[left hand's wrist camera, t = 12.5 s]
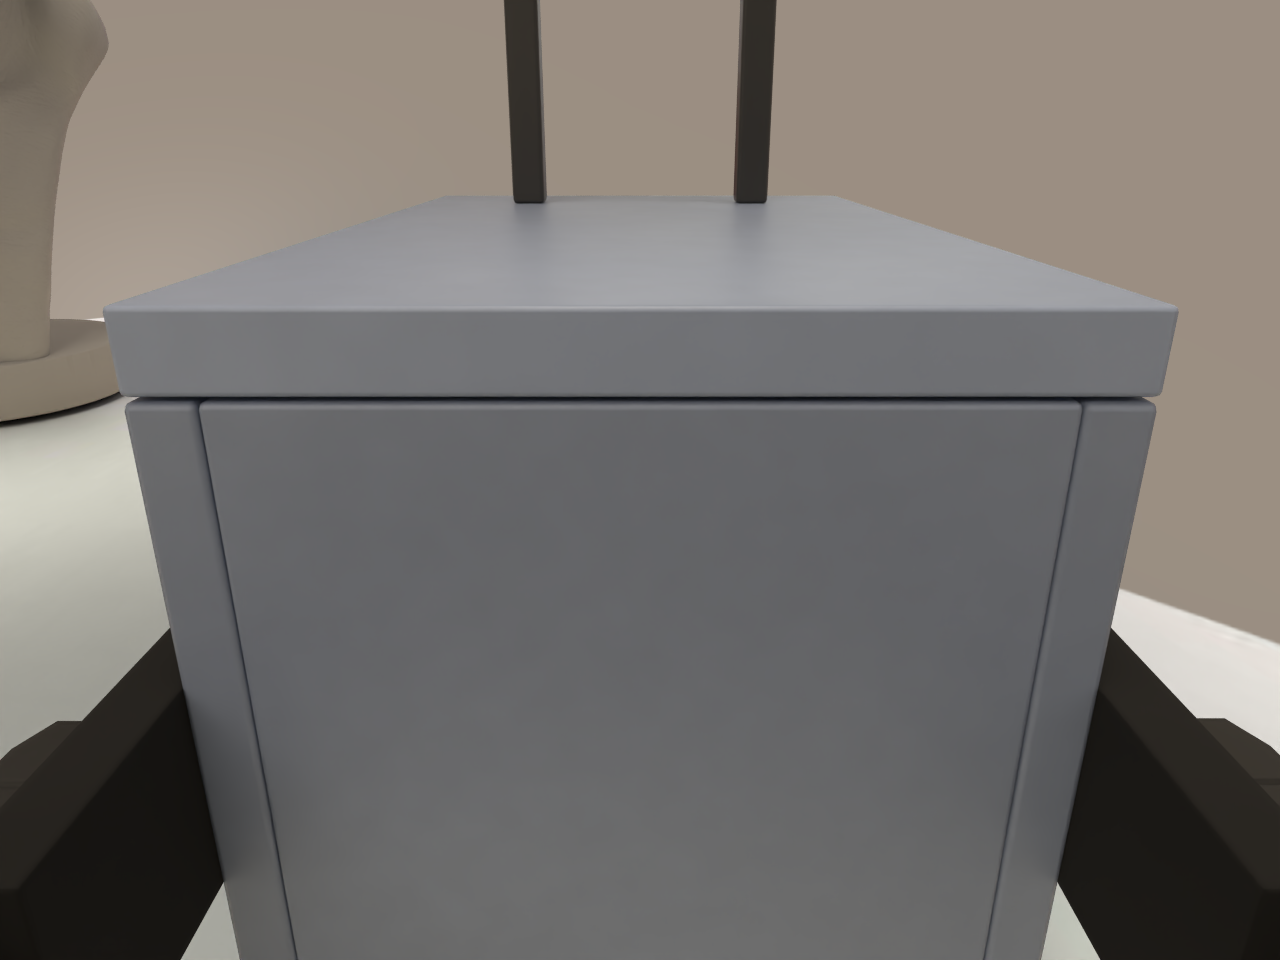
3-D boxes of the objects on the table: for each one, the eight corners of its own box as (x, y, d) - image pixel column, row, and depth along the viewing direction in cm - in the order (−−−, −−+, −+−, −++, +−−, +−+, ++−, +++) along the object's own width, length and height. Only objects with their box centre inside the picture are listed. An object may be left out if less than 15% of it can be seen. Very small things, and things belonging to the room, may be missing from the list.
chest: (470, 608, 27) (442, 235, 23) (809, 607, 27) (837, 234, 23) (277, 1151, 12) (118, 403, 9) (1002, 1151, 12) (1162, 403, 9)
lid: (446, 231, 23) (417, -155, 20) (834, 231, 23) (862, -156, 20) (117, 398, 9) (-158, -903, 6) (1163, 398, 9) (1437, -901, 6)
